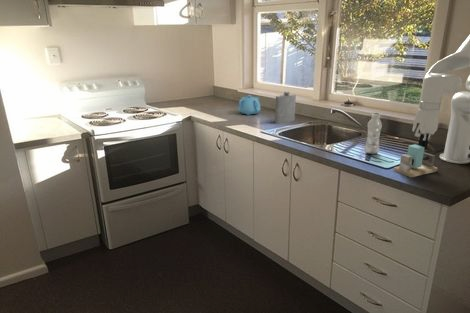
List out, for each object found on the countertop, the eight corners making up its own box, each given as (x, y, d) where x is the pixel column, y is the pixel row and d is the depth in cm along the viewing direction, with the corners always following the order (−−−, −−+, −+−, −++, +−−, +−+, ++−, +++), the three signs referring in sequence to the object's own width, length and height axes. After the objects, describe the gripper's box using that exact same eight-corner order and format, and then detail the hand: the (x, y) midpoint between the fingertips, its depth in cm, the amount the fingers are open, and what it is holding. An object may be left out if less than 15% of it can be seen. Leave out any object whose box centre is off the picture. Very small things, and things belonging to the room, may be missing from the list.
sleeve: (412, 163, 160) (415, 144, 157) (421, 166, 156) (424, 147, 153) (405, 164, 158) (408, 145, 155) (414, 168, 154) (418, 148, 151)
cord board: (418, 164, 165) (421, 147, 163) (437, 171, 158) (440, 153, 155) (393, 170, 159) (395, 153, 156) (410, 177, 151) (413, 159, 149)
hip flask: (292, 119, 250) (293, 90, 243) (296, 120, 247) (297, 91, 240) (274, 122, 242) (274, 92, 235) (277, 124, 239) (279, 93, 232)
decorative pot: (235, 115, 264) (235, 96, 260) (241, 110, 279) (241, 92, 274) (257, 116, 260) (258, 97, 256) (262, 111, 275) (262, 93, 270)
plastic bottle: (373, 156, 176) (378, 115, 170) (361, 153, 182) (366, 113, 175) (381, 154, 180) (386, 113, 174) (369, 150, 185) (374, 111, 179)
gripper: (433, 103, 156) (426, 144, 162) (409, 105, 150) (402, 148, 156) (450, 106, 150) (441, 149, 156) (425, 109, 144) (417, 153, 150)
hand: (422, 148), depth 156 cm, fingers closed
